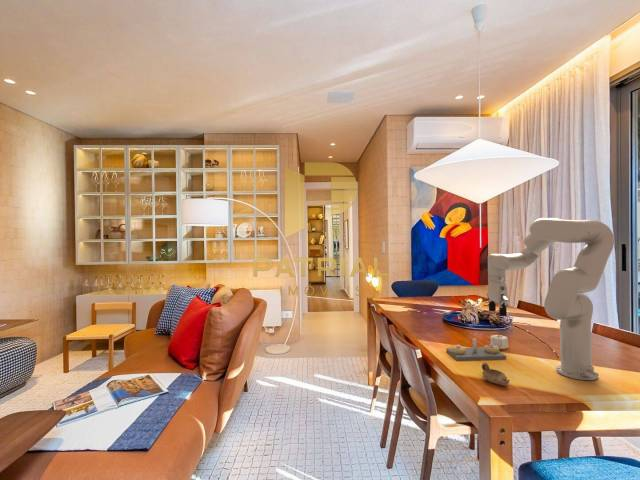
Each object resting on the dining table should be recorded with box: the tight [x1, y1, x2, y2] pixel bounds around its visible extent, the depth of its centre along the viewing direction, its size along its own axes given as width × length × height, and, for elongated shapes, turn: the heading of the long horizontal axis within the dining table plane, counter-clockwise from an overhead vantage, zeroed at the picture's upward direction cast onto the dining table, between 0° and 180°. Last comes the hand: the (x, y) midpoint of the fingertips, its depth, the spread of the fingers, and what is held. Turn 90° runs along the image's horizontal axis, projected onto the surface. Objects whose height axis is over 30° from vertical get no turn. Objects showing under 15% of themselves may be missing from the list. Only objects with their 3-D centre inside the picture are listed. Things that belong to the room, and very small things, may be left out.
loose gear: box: [490, 334, 509, 350], centre depth 158 cm, size 7×7×5 cm
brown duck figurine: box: [481, 362, 510, 387], centre depth 122 cm, size 13×8×5 cm, turn 5°
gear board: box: [446, 338, 507, 362], centre depth 148 cm, size 12×22×8 cm, turn 89°
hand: (497, 313), depth 159 cm, fingers open, 9 cm apart
